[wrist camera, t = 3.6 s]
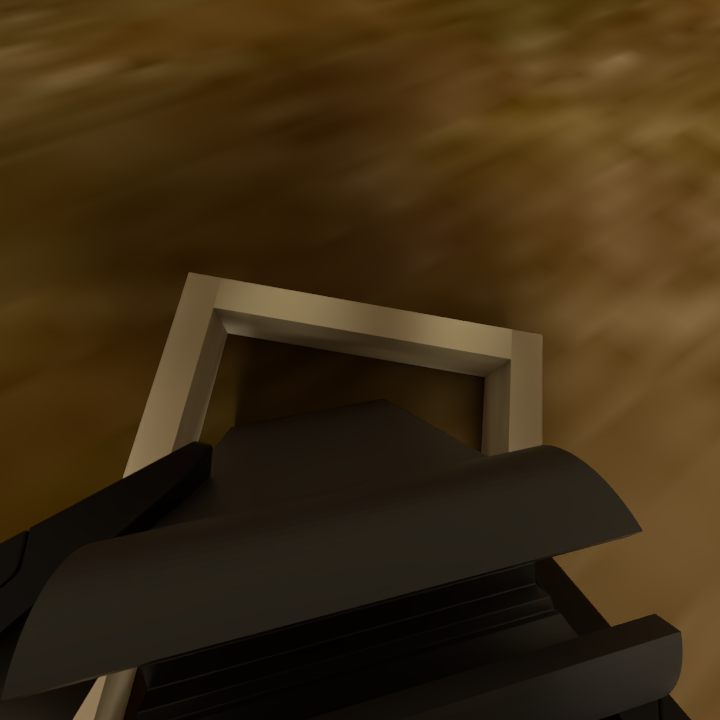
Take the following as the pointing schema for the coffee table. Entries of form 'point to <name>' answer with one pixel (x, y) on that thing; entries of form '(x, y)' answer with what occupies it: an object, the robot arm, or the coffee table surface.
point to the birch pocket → (328, 332)
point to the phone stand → (352, 586)
